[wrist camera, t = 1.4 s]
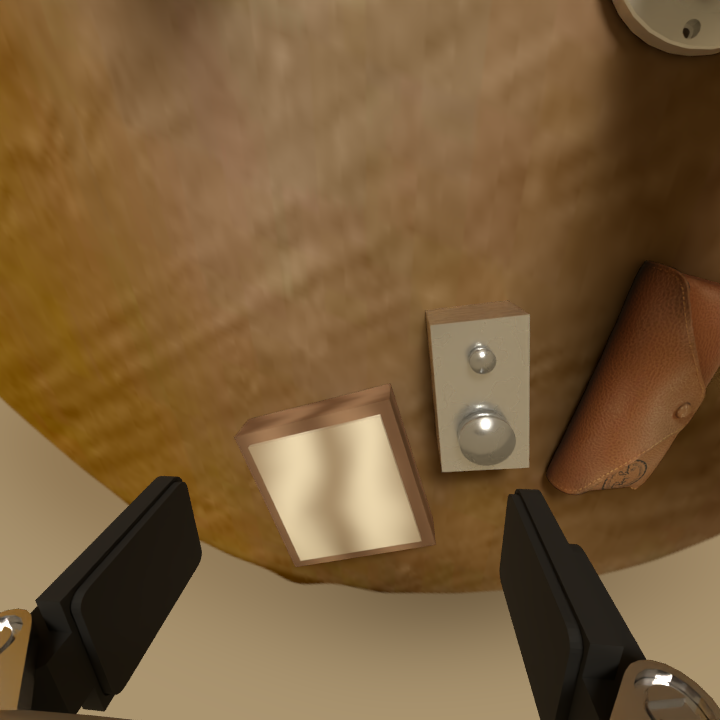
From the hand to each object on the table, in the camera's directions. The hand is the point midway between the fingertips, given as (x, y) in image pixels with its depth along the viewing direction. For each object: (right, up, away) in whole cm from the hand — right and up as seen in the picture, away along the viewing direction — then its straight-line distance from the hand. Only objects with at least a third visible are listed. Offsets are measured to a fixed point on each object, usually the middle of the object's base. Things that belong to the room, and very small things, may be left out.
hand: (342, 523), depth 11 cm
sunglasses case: (+22, +3, +18) cm, 28 cm away
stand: (-1, -5, +23) cm, 23 cm away
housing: (+9, +4, +19) cm, 21 cm away
